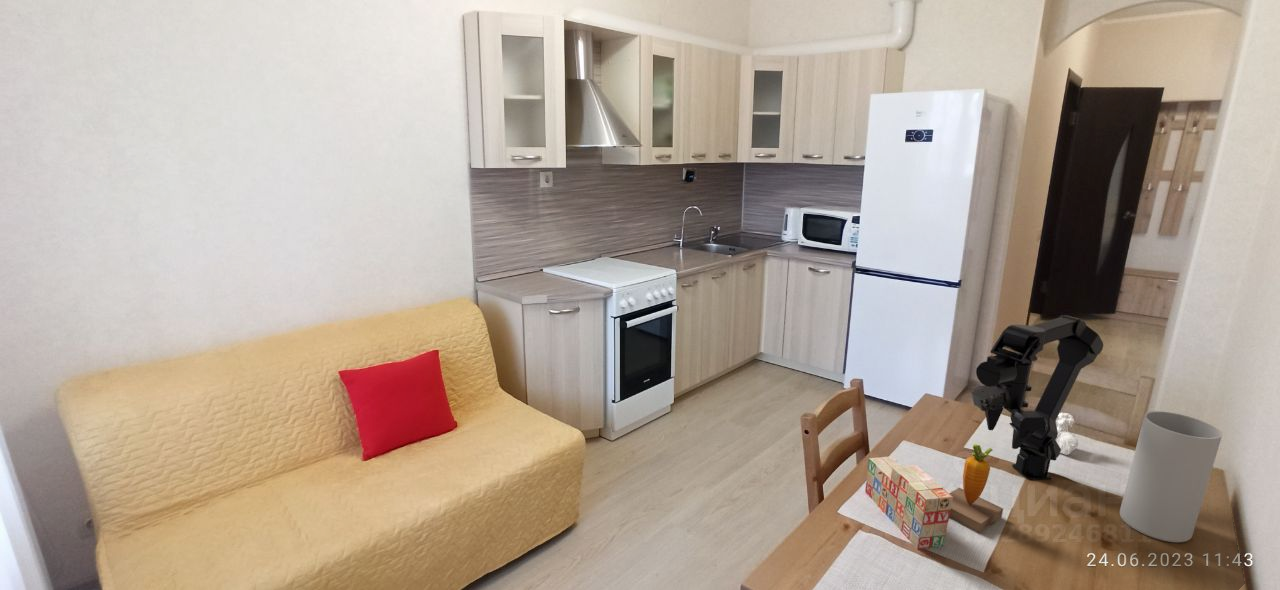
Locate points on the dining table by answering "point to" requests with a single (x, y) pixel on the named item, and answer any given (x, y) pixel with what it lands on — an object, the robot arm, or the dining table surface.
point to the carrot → (975, 474)
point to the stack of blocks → (910, 500)
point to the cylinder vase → (1169, 475)
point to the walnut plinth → (973, 512)
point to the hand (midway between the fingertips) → (1002, 439)
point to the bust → (1065, 433)
